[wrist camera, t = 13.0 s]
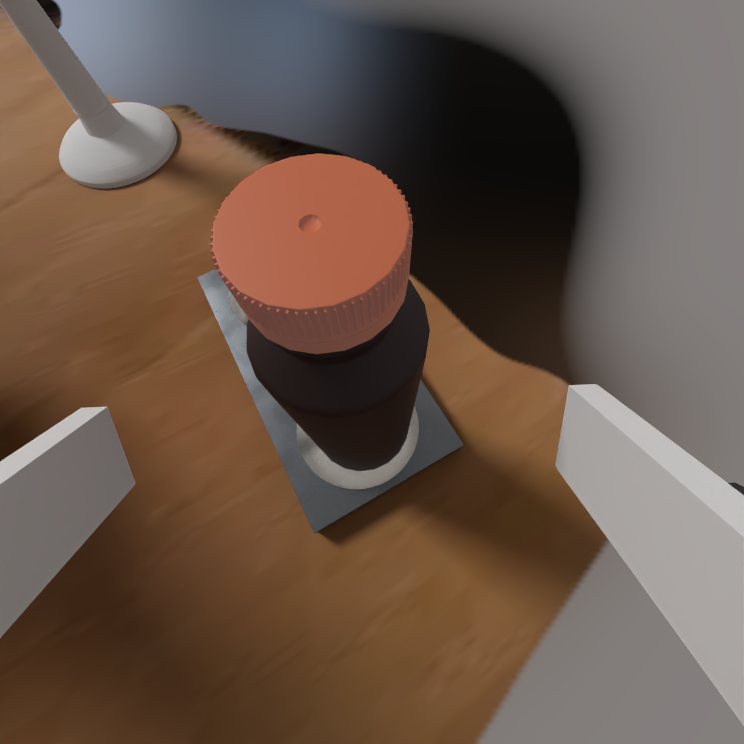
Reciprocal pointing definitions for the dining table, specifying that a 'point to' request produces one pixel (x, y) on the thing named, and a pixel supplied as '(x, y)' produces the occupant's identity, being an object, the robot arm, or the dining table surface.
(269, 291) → the vinegar
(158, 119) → the candlestick
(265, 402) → the plate
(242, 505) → the dining table surface
